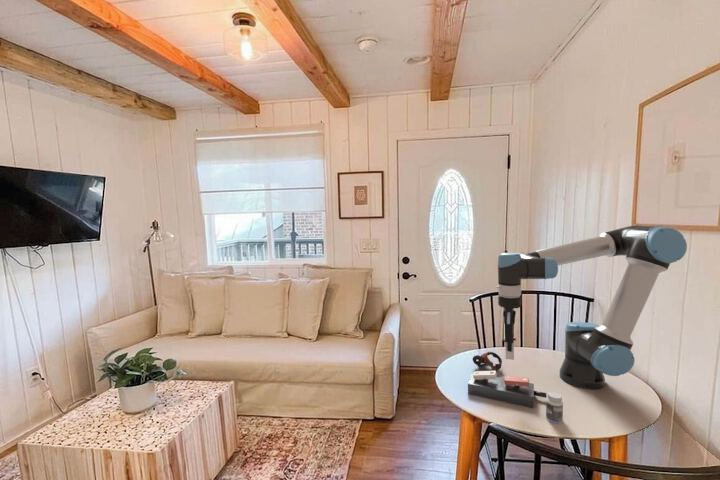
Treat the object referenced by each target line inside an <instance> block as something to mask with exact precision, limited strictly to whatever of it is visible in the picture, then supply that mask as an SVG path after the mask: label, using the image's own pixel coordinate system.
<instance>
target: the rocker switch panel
mask: <svg viewBox="0 0 720 480" xmlns="http://www.w3.org/2000/svg"><path fill="white" fill-rule="evenodd" d="M473 374H474V371H472V372H471V374H470V377H469V379H468V382H467V395H471V396H476V397H481V398H486V399H490V400H495V401H499V402H503V403H506V404H507V403H508V404H513V405H517V406H522V407H526V408H531V409H534V404H535V403H534V402H535V400H534V399H535V397H540V398H546V399H547V392H542V391H537V390H535V384H534V383H530V382H529V387H528V386H516V385H505V381H504V380H505V377H499V376H496V379H485V380H484V379H477V380H474V377H473Z"/></svg>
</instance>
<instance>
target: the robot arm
mask: <svg viewBox="0 0 720 480" xmlns="http://www.w3.org/2000/svg"><path fill="white" fill-rule="evenodd" d="M687 250H688V243H687V240H686V239H685V237H684V235H683V234H682V233H681V232H680V231H679V230H678V229H676V228H672V227H669V226H662V225H656V226H654V225H652V226H651V225H637V224H636V225H630V226H629V225H628V226H626V227H619V228H617V229H613V230H609V231H606V232H602V233H600V234H599V235H598V236H596V237H590V238H587V239H586V238H585V239H581V240H578V241H573V242H569V243H565V244H559V245H557V246H552V247H547V248H542V249H538V250H534V251H529V252H503V253H501V252H500V254H499V255H498V257H497V258H498V259H497V279H498V284H497V285H496V289H498V296H497V300H498V301H497V303H498V306H499V307H501V308H504V310H503V313H502V315H503V316H502V317H503V322H504V338H505V339H503V343H505V360H513V361H514V360H515V341H516V340H517V338H514V337H515V333H514V332H515V322H516V314H517V312H516V310H514V309H519V308H521V306H522V297H521V295H522V283H521V282H522V280H550V279H555V278H556V277H557V276H558V272H559V266H563V265H566V264H567V265H568V264H571V263H577V262H580V261H585V260H589V259H595V258H600V257H604V256H606V257H608V258H614V257H618V256H619V257H620V256H625V259H626V261H627V264H628V265H627V267H626V269H625V272H624V273H623V276H622V278H621V281H620V282H619V285H618V288H617V289H616V291H615V294H614V295H613V297H612V300H611V302H610V305H609V308H608V310H607V312H606V315H605V316H604V318H603V321H602V323H601V324H600V325H599V324H597V323H592V322H585V321H584V322H583V321H571V322H567V324H566V325H565V330H564V332H565V334H564V335H565V337H564V338H565V339H564V340H565V342H564V344H565V346H564V359H563V361H562V363H561V366H560V368H559V377H560V379H561V380H563V381H564V382H565V383H568V384H570V385H572V386H575V387H578V388H582V389H587V390H588V389H589V390H599V389H602V388H604V387H605V385H606V379H605V375H607V376H609V377H610V376H611V377H619V376H621V375H625V374H627V373H628V372H630V371H631V370H632V368H633V367H634V365H635V357H634V354H633V352H632V351H631V350H632V347H633V345H634V342H633V340H632V337H631V336H632V334H633V331H634V329H635V327H636V325H637V323H638V322H639V321H638V320H639V319H640V316H641V314H642V312H643V310H644V307H645V306H646V303H647V301H648V298H649V297H650V294H651V292H652V290H653V288H654V286H655V283H656V281H657V279H658V277H659V274H661V273H663V272H666V271H668V269H669V267H670V265H671V264H672V263H676V262H677V261H680V260H681V259H683V258H684V256H685V255H686V254H687Z"/></svg>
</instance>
